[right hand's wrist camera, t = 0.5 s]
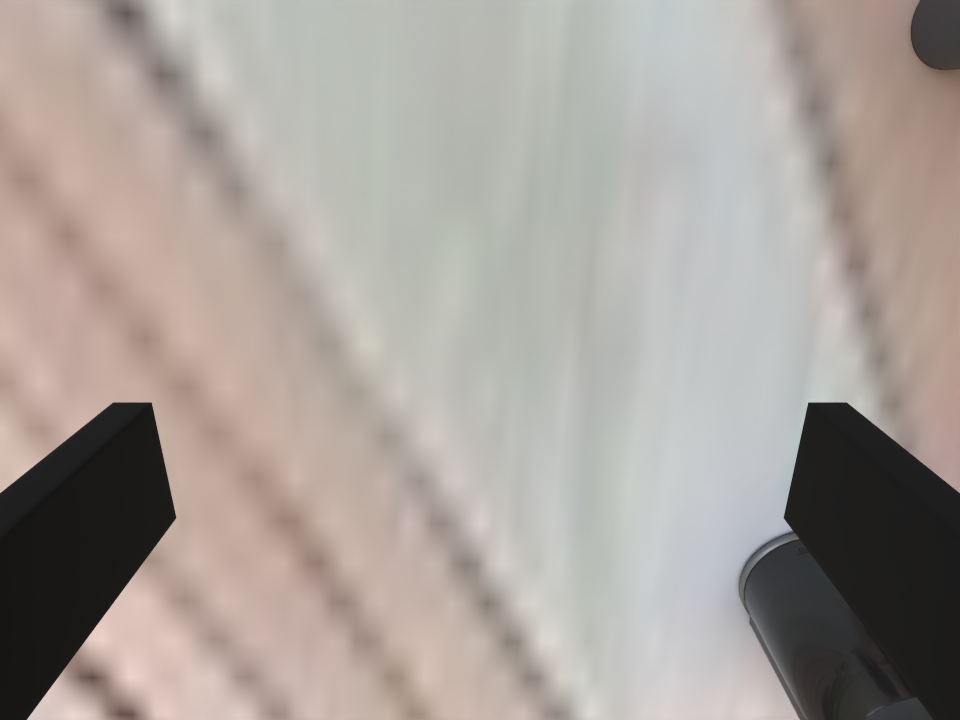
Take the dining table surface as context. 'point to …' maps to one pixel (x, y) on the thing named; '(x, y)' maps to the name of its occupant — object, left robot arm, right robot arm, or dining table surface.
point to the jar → (937, 33)
